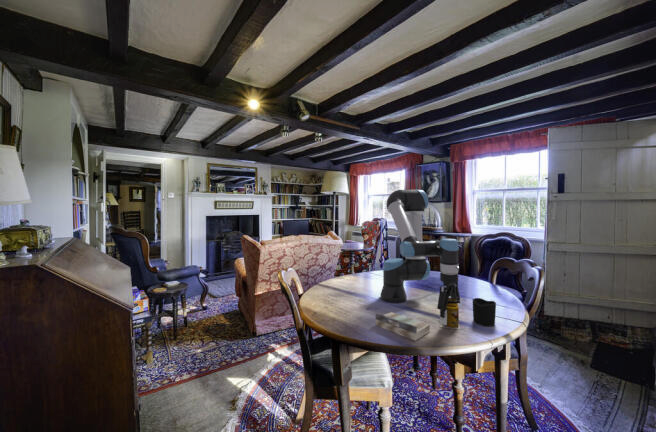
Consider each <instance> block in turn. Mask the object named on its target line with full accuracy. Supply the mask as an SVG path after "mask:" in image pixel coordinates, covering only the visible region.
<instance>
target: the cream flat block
mask: <svg viewBox="0 0 656 432" xmlns="http://www.w3.org/2000/svg"><path fill="white" fill-rule="evenodd" d="M430 325H431V324H430V323H429V324H428V323H425V322H422V321H419V319H414V318H413V317H408V316H405V315H402V314H398V313H395V312H392V311H390V312H388V313H385V314H381V313H379V312H376V313H375V326H376V327H379V328H382V329H384V330H386V331H388V332H392V333H394V334H397V335H399V336H400V337H401V336H402V337H404V338H407V339H409V340H412V341H415V342H416V341H417V340H419V339H421V338H422V337H424V336H425V335H427V334H428V333H429V332H430V329H431V328H430Z"/></svg>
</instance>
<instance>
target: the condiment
mask: <svg viewBox="0 0 656 432" xmlns="http://www.w3.org/2000/svg"><path fill="white" fill-rule="evenodd" d="M446 310H447V325H443V324H440V319H438V325H439V327H440V328H446V329H454V330H461V327H460V323H459V322H460V321H459V318H460V317H459V314H460V313H459V312H460V311H459V310H460V309H459V303H458V301H457V300H456V299H454V298H451V297H449V299H448V303H447V307H446Z"/></svg>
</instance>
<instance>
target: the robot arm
mask: <svg viewBox="0 0 656 432" xmlns="http://www.w3.org/2000/svg"><path fill="white" fill-rule="evenodd" d="M428 206H429V199H428V194H427V193H426V192H425V191H424V190H422V189H397V190H394V191H393V192H391V193H390V194H389V196H388V197H387V199H386V209H387V212H388V213H389V214H390V215H391V218H392V220H393V222H394V225H395V228H396V231H397V233H398V235H399V237H400V240H401V242H400V244H399V252H400V255H401V256H402V257H404V259H405V260H404V259H403V258H399V257H398V258H395V257H394V258H388V259H386V260H384V261H383V266H382V273H383V275H382V279H383V280H382V281H383V282H382V283H383V285H382V289H381V291H380V299H381V300H382V301H384V302H385V303H386V302H387V303H392V304H395V303H396V304H398V303H399V304H401V303H404V302H407V298H408V296H407V293H406V290H405V287H404V282H406V281H407V282H409V281H410V282H411V281H418V282H420V281H425V280H428V278H429V276H430V274H431V265H430V262H429V260H427V258H426V257H439V272H440V273H439V275H440V276H439V277H440V279H439V281H441V282H442V283H443V284H442V286H439V295H438V301H437V308H436V309H437V310H439V320H440V324H443V325H447V310H446V307H447V303H448V299H449V298H454V299H456V300H457V301H458V305H459V304H461V297H460V290H459V274H458V273H459V269H460V267H459V250H460V249H459V248H460V247H459V241H458V240H457V239H456V238H441V239H440V240H438V239H431V240H423V213H425V210H426V209H427V208H428Z"/></svg>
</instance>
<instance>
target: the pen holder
mask: <svg viewBox="0 0 656 432" xmlns="http://www.w3.org/2000/svg"><path fill="white" fill-rule="evenodd" d="M496 308H497V302H496V301H494V300H486V299H484V298H480V297H475V298H472V318H473V319H472V320H473V322H474V323H475V324H477V325H479V326H483V327H493V326H495V324H496V312H497V311H496V310H497V309H496Z"/></svg>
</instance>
